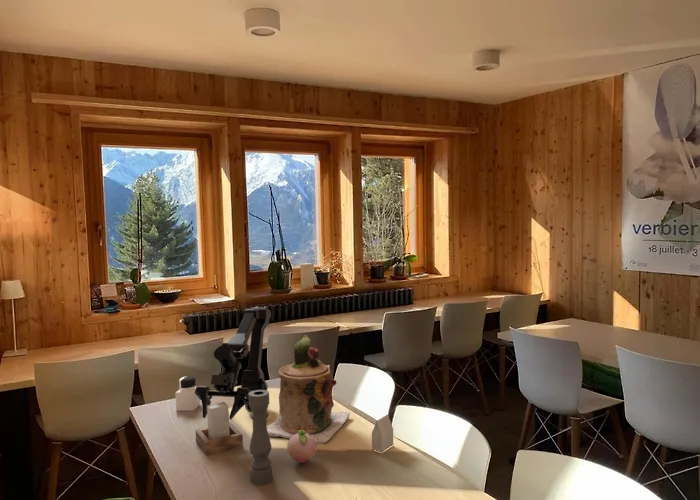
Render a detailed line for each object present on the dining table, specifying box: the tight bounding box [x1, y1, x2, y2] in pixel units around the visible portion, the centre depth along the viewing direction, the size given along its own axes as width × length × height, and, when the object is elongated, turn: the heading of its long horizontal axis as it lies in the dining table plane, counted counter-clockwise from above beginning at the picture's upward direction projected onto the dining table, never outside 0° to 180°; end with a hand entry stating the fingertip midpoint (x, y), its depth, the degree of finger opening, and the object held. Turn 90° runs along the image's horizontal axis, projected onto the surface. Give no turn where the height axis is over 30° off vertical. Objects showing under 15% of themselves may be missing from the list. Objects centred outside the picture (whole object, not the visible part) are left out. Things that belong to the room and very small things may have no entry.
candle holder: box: [249, 389, 274, 486], centre depth 152 cm, size 6×6×25 cm
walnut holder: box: [195, 421, 244, 456], centre depth 177 cm, size 12×12×4 cm
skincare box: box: [206, 401, 230, 440], centre depth 177 cm, size 6×4×12 cm
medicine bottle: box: [174, 375, 201, 412], centre depth 211 cm, size 7×7×12 cm
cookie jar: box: [267, 334, 351, 444], centre depth 189 cm, size 25×25×32 cm
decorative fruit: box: [286, 430, 317, 464], centre depth 162 cm, size 9×8×10 cm
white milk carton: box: [371, 414, 394, 452], centre depth 171 cm, size 4×7×10 cm, turn 144°
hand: (217, 418), depth 176 cm, fingers open, 9 cm apart
